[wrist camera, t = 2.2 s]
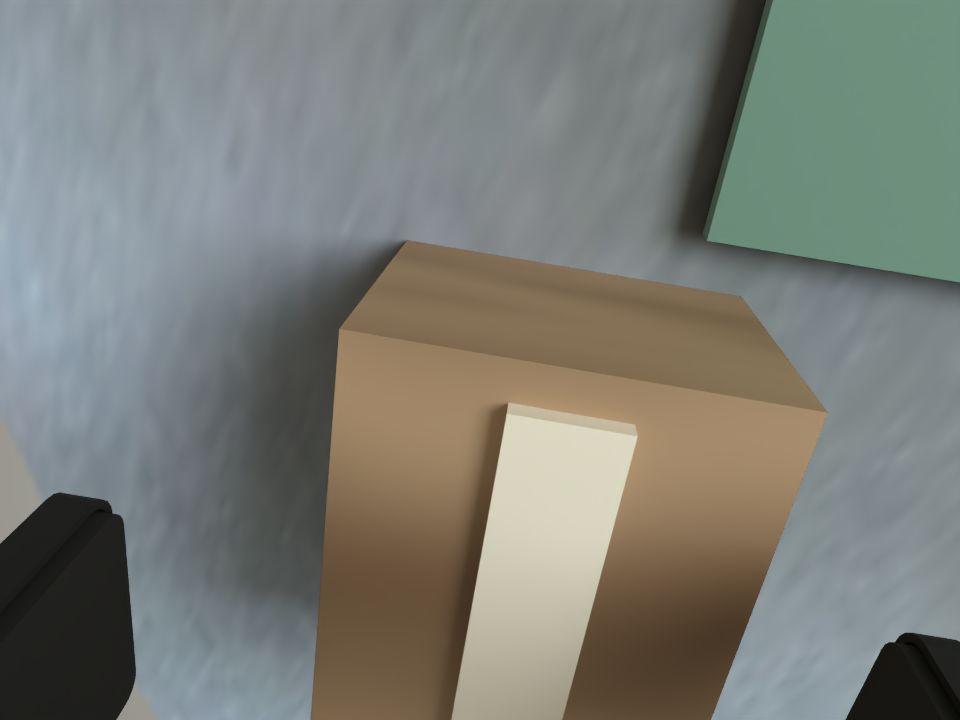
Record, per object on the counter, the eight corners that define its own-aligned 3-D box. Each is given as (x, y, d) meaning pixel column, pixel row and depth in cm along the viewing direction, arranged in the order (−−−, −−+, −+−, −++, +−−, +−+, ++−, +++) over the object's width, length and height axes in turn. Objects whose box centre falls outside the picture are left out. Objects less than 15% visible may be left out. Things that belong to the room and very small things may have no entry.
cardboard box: (637, 637, 16) (667, 858, 12) (369, 589, 16) (300, 788, 12) (740, 296, 13) (836, 424, 9) (406, 240, 13) (332, 338, 9)
